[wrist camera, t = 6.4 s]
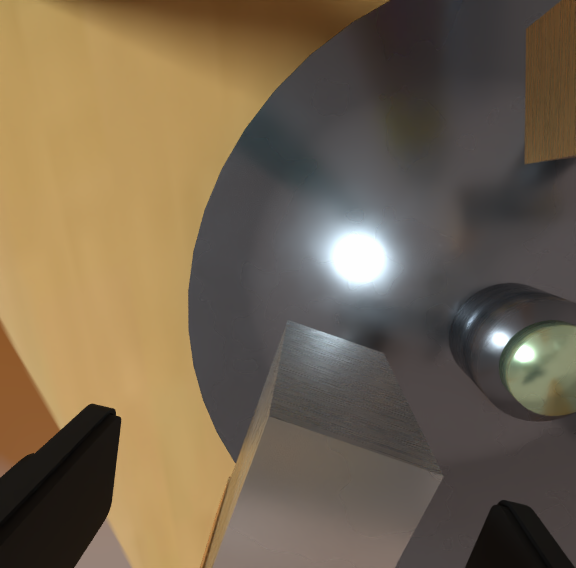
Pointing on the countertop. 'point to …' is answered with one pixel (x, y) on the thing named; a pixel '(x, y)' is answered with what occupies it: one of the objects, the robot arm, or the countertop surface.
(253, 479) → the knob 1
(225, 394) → the levelling base
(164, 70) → the countertop surface
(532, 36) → the grey rectangular block
